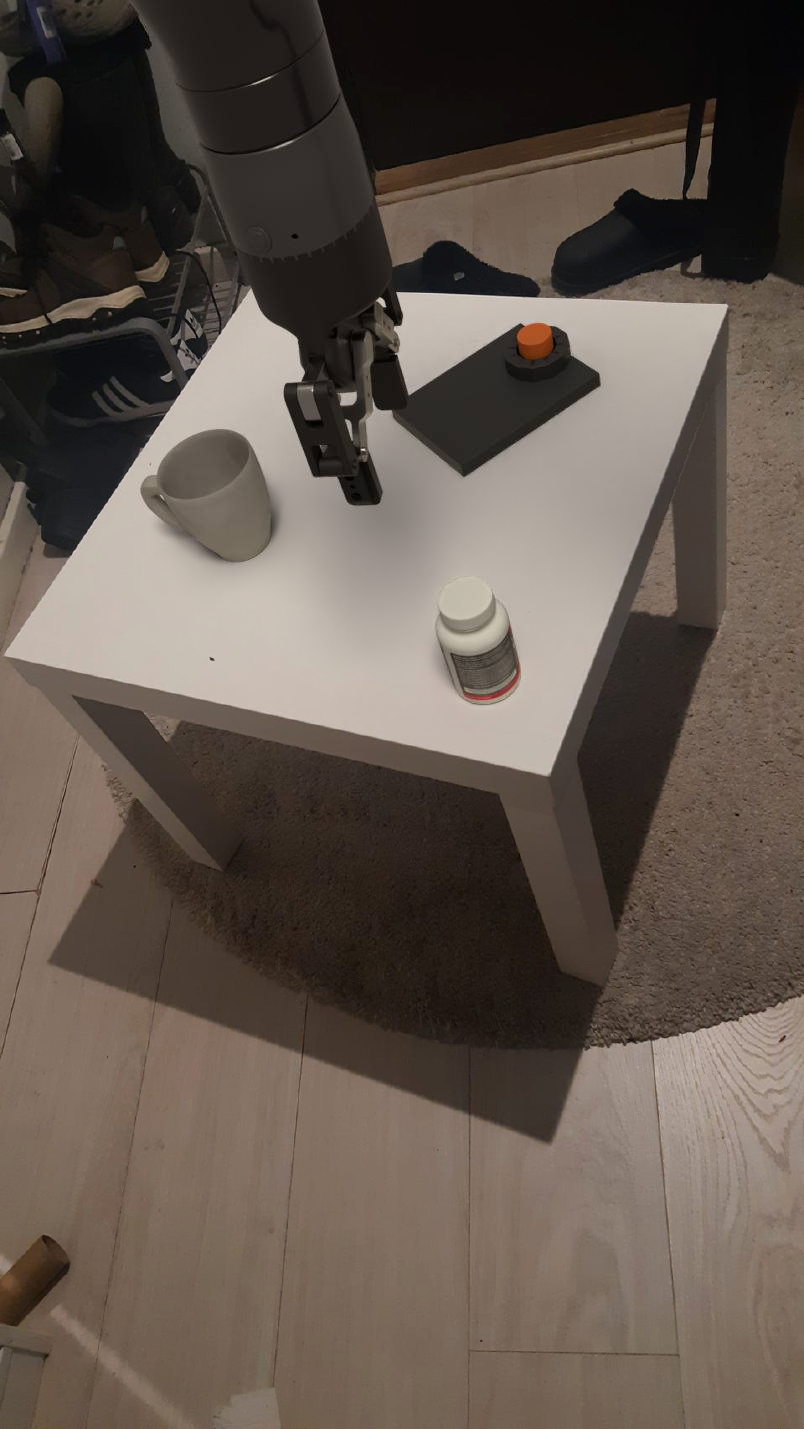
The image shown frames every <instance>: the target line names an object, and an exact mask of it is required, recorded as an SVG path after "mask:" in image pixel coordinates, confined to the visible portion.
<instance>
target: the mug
mask: <svg viewBox="0 0 804 1429" xmlns="http://www.w3.org/2000/svg"><path fill="white" fill-rule="evenodd" d="M139 491H140V495H141V498H142V500H143V502H144V504H145V505H146V506H147V508H148V510H150V511H151V512H152V513H153V514H154V515H155V516H156V517H158V519H160V520H161V521H162V522H164V523H165V524H167V525H168V526H170V527H172V528H174V529H179V530H185V531H187V532H188V533H189V534H190V535H191V536H192V537H193V538H194V539H195V540H196V541H198V542H199V543H200V544H202V545H203V546H204V547H206V548H207V549H209V550H211V551H212V552H214V553H216V554H217V555H219V557H221V558H222V559H223V560H225V561H228V562H231V563H240V562H245V561H249V560H251V559H254V558H255V557H257V556H258V555H259V554H261V553H262V552H263V551H264V550H265V549H266V548H267V546H268V545H269V543H270V540H271V536H272V530H271V519H272V518H271V515H272V510H271V509H272V508H271V497H270V493H269V489H268V484H267V480H266V478H265V475H264V471H263V469H262V466H261V464H260V461H259V459H258V457H257V454H256V452H255V450H254V447H253V446H252V445H251V443H250V441H249V440H248V439H247V438H246V437H245V436H244V435H243V434H241V433H239V432H238V431H235V430H232V429H227V428H214V429H208V430H203V431H200V432H197V433H195V434H193V435H190V436H188V437H187V438H184V439H183V440H181V441H179V442H178V443H177V444H175V445H174V446H173V447H172V448H171V449H170V450H169V451H168V452H167V453H166V454H165V456H164V457H163V458H162V460H161V461H160V462H159V465H158V468H157V473H156V474H151V475H147V476H146V477H145V478H144V479H143V481H142V483H141V485H140V490H139Z"/></svg>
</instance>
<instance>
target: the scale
mask: <svg viewBox="0 0 804 1429" xmlns="http://www.w3.org/2000/svg"><path fill="white" fill-rule="evenodd" d="M525 326H526V325H525V324H524V323H522V322H519V323H518V324H516V325H515V326H513V327H512V328H510V329H509V330H507V331H506V332H504V333H502V334H501V335H500V336H498V337H496V338H495V339H493V340H492V341H490V342H489V343H487V344H486V345H484V346H483V347H481V348H480V349H478V350H476V351H475V352H473V353H472V354H470V355H468V356H467V357H466V358H464V359H463V360H461V361H459V362H458V363H456V364H455V365H453V366H452V367H450V368H448V369H447V370H446V371H444V372H443V373H441V374H440V375H437V377H435V378H433V379H432V380H430V381H428V382H427V383H426V384H424V385H423V386H421V387H420V388H418V389H416V390H415V391H413V392H411V393H410V394H409V400H408V404H407V407H406V408H405V409H401V410H390V411H391V415H392V418H393V419H394V420H395V421H396V422H398V424H400V425H402V427H403V428H405V430H407V431H408V432H410V434H412V435H413V436H414V437H415V438H417V439H418V440H419V441H420V442H422V444H424V445H425V446H426V447H427V448H429V449H430V450H431V451H432V452H434V453H435V454H436V455H438V457H440V459H442V460H443V461H444V462H446V463H447V464H449V466H451V468H453V469H454V470H455V471H457V472H458V473H459V474H460V475H462V476H463V477H466V476H467V475H469V474H471V473H472V472H474V471H475V470H477V469H478V468H480V467H481V466H483V465H484V464H485V463H487V462H488V461H490V460H491V459H493V458H494V457H496V456H497V455H499V454H500V453H501V452H503V451H505V450H506V449H508V448H509V447H511V446H512V445H514V444H516V443H517V442H518V441H520V440H521V439H523V438H524V437H525V436H527V435H529V434H530V433H532V432H533V431H534V430H536V429H538V428H539V427H540V426H542V425H543V424H545V423H546V422H548V421H549V420H551V419H553V418H554V417H555V416H557V415H558V414H560V413H561V412H563V411H564V410H566V409H567V408H569V407H570V406H572V405H573V404H574V403H576V402H578V401H579V400H581V399H582V398H584V397H585V396H586V395H588V394H590V393H591V392H592V391H594V390H596V389H597V388H598V387H600V386H601V374H600V372H598V371H597V370H596V369H594V368H592V367H590V366H589V365H587V364H586V363H585V362H583V361H581V360H580V359H579V358H577V357H575V356H574V355H572V353H571V352H572V351H571V344H570V343H571V342H570V340H569V336H568V333H567V332H566V331H564V330H563V329H561V328H559V327H558V326H555V325H548V326H549V327H550V328H551V331H552V339H553V350H552V352H551V353H550V354H548V355H547V356H545V357H543V358H538V359H534V360H531V359H524V358H523V357H522V356H521V355H520V352H519V346H518V340H517V335H518V332H519V331H520V330H521V329H522V328H523V327H525Z"/></svg>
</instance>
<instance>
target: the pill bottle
mask: <svg viewBox="0 0 804 1429" xmlns="http://www.w3.org/2000/svg"><path fill="white" fill-rule="evenodd" d="M437 609H438V612H439V613H438V614H437V616H436V619H435V620H436V621H435V635H436V639H437V641H438V645H439V647H440V650H441V653H442V655H443V658H444V661H445V665H446V667H447V670H448V672H449V675H450V676H449V677H450V679H451V681H452V684H453V687H454V688H455V690H456V692H457V693H458V694H459V696H460V697H461V698H463V699H464V700H466V701H468V702H470V703H473V704H478V705H489V704H496V703H498V702H500V701H502V700H504V699H506V698H508V697H509V696H510V695H511V694H512V693H514V691H515V690H516V688H517V687H518V686H519V684H520V681H521V677H522V668H521V662H520V658H519V654H518V649H517V645H516V642H515V638H514V633H513V628H512V625H511V622H510V617H509V613H508V611H507V608H506V607H505V605H504V604H503V603H502V602H501V601H500V600H499V599H497V597H495V595H494V592H493V588H492V587H491V584H489V583H488V581H486V580H484V579H483V578H480V577H478V576H462V577H459V578H456V579H454V580H451V581H450V582H448V583H446V585H444V587H443V588H442V589H441V590H440V592H439V594H438V597H437Z"/></svg>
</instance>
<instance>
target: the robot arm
mask: <svg viewBox="0 0 804 1429" xmlns="http://www.w3.org/2000/svg"><path fill="white" fill-rule="evenodd" d="M128 2H129V3H130V5H131V6H132V7H133V8H134V10H135V11H136V12H137V14H138V15H139V17H140V18H141V20H142V21H143V22H144V24H145V25H146V26H147V28H148V30H149V31H150V33H151V34H152V35H153V37H154V39H155V40H156V41H157V43H158V44H159V46H160V48H161V49H162V52H163V54H164V56H165V59H166V62H167V65H168V67H169V70H170V73H171V75H172V78H173V80H174V82H175V84H176V87H177V90H178V92H179V95H180V97H181V100H182V103H183V105H184V108H185V110H186V113H187V116H188V119H189V120H190V123H191V125H192V128H193V131H194V134H195V135H196V138H197V141H198V144H199V147H200V150H201V153H202V156H203V161H204V164H205V169H206V172H207V177H208V180H209V183H210V187H211V190H212V193H213V195H214V198H215V201H216V203H217V207H218V209H219V211H220V213H221V217H222V219H223V221H224V223H225V227H226V229H227V231H228V233H229V237H230V238H231V242H232V244H233V247H234V248H235V249H234V250H235V251H236V254H237V256H238V259H239V261H240V264H241V266H242V269H243V271H244V273H245V277H246V279H247V282H248V283H249V286H250V289H251V291H252V294H253V296H254V300H255V301H256V304H257V306H258V308H259V311H260V312H261V313H262V315H263V316H264V317H265V318H266V319H267V320H268V321H269V322H270V323H272V324H274V325H276V326H277V327H280V328H282V329H283V330H285V331H287V332H289V333H290V334H292V335H293V336H294V337H295V338H296V339H297V345H298V354H299V362H300V366H301V368H302V369H303V371H304V373H303V376H302V379H301V380H300V381H295V382H293V381H292V382H285V383H284V385H283V400H284V403H285V406H286V408H287V412H288V413H289V417H290V419H291V421H292V424H293V427H294V429H295V432H296V435H297V438H298V440H299V443H300V446H301V448H302V451H303V454H304V457H305V460H306V462H307V464H308V467H309V470H310V473H311V475H312V477H313V478H337V480H338V483H339V486H340V488H341V490H342V493H343V496H344V498H345V501H346V502H347V503H348V505H350V506H353V507H358V506H359V507H360V506H362V507H363V506H364V507H365V506H378V505H380V503H381V502H382V498H383V494H384V490H383V486H382V484H381V481H380V479H379V478H380V477H379V476H378V472H377V469H376V467H375V464H374V461H373V458H372V454H371V452H370V450H369V445H368V432H367V420H368V419H369V418H370V417H371V416H372V415H373V412H374V407H375V408H376V409H377V410H378V411H391V410H401V409H405V408H406V407H407V404H408V400H409V395H410V394H409V391H408V388H407V384H406V381H405V376H404V373H403V369H402V366H401V363H400V359H399V356H398V353H399V352H400V346H401V341H400V337H399V334H398V333H397V331H396V330H395V327H401V326H402V325H403V320H404V313H403V310H402V306H401V303H400V300H399V296H398V293H397V290H396V285H395V282H394V279H393V276H392V275H393V259H392V256H391V251H390V247H389V244H388V240H387V236H386V233H385V228H384V225H383V221H382V217H381V212H380V210H379V205H378V202H377V198H376V194H375V190H374V187H373V182H372V179H371V175H370V172H369V168H368V164H367V159H366V157H365V153H364V149H363V146H362V141H361V139H360V135H359V132H358V130H357V127H356V123H355V121H354V120H353V117H352V115H351V113H350V110H349V108H348V107H349V106H348V105H347V102H346V99H345V97H344V94H343V90H342V87H341V85H340V84H341V83H340V79H339V76H338V72H337V69H336V65H335V60H334V57H333V54H332V50H331V45H330V42H329V38H328V35H327V31H326V28H325V24H324V20H323V16H322V13H321V9H320V6H319V3H318V2H319V1H318V0H128ZM379 299H382V300H383V302H384V305H385V306H383V305H382V304H381V303H380V302H379V301H378V300H379ZM353 393H355V395H356V398H355V401H354V402H353V403H352V404H341V403H342V396H341V394H353ZM347 421H349V422H350V425H351V434H350V431H349V427H348V424H347Z"/></svg>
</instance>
